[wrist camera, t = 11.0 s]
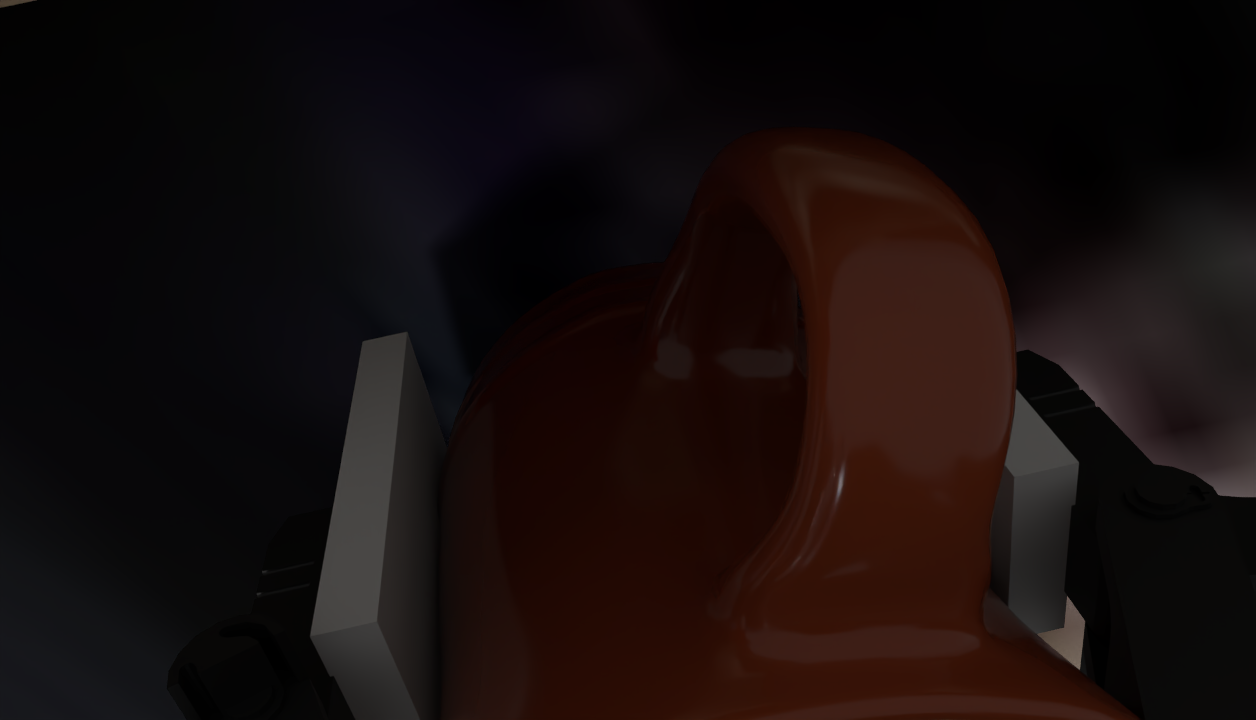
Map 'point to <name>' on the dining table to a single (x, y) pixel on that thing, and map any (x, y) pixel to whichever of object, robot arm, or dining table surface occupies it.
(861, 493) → the mug
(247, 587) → the dining table surface
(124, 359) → the dining table surface
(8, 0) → the tan wooden shallow box
